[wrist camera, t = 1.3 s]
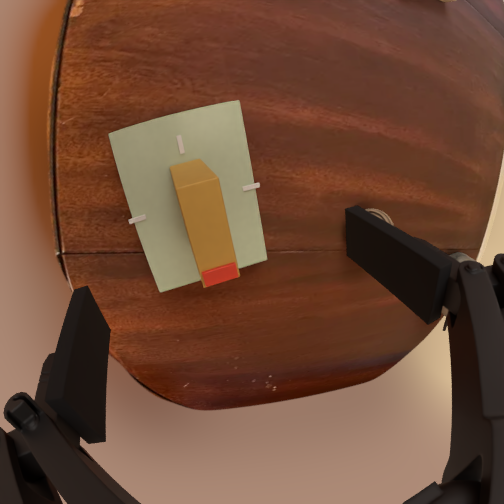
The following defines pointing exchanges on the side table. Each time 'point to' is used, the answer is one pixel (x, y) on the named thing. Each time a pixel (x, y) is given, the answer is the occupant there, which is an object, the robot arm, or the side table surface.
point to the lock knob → (205, 221)
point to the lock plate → (163, 191)
